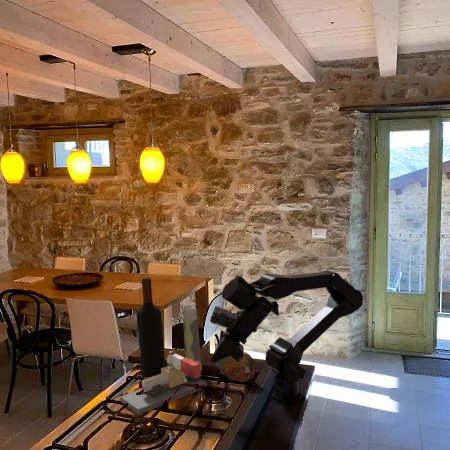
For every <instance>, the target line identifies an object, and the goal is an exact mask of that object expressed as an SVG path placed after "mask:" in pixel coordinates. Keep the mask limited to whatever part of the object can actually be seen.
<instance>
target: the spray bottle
mask: <svg viewBox="0 0 450 450" xmlns="http://www.w3.org/2000/svg"><path fill="white" fill-rule="evenodd" d="M182 317H183V318H182V322H183V323H182V324H183V339H184V358H186V357H187V358H189V359H191V360H193V361H199V362H200V363H201V364H202V359H201V358H202V357H201V347H200V335H199V334H200V333H199V322H198V313H197V308H196V307H195V306H193V305H188V306H186V307H184V309H183V313H182Z"/></svg>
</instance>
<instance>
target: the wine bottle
mask: <svg viewBox="0 0 450 450" xmlns="http://www.w3.org/2000/svg"><path fill="white" fill-rule="evenodd" d="M141 288H142V299H143V300H142V306H141V307H140V308H139V309H138V311H137V312H136V325H137V327H136V328H137V340H138V351H139V362H140V364H139V365H140V375H141V378H143V377H145V378H146V377H153V376H156V375H159V374H161V368H164V367H166V358H165V357H166V356H165V344H164V342H165V341H164V332H163V331H164V330H163V329H164V328H163V316H162V310H161V309H160V308H159V307H158V306H156V305H155V304H154V301H153V290H152V289H153V288H152V278H151V277H143V278H141ZM145 378H144V379H145Z"/></svg>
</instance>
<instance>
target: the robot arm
mask: <svg viewBox="0 0 450 450" xmlns="http://www.w3.org/2000/svg"><path fill="white" fill-rule="evenodd" d="M322 288H323V289H324V288H325V289H326V291H327V293H328V294H329V296H328V299H327V301H326V305H325V306H324V307H323V308H322V309H320V311H318V312H317V313H316V314H315V315H314V316H313V317H312V318H311V319H310V320H308V322H306V323H305V324H303V326H302V327H301V328H300V329H299V330H298V331H297V332H296V333H294V334H293V336H291V337H289V338H287V339H284V338H282V337H278V338H276V340H275V341H274V342H273V343H272V344H270V345H268V349H267V350H266V351H265V362H266V365H267V366H268V367H269V368H270V370H271V371H272V372H274V373H275V374H276V375H275V376H274V378H275V381H274V393H271V398H274V399H276V400H278V401H280V402H282V403H285V404H287V405H291V404H293V403H295V402H298V401H299V400H301V399H303V398H305V397H306V394H305V393H303V392H301V380H303V379H304V378H305V374H306V370H305V369H304V368H303V367H302V366H301V365H300V364H301V360H302V358H303V354H304V352H305V351H306V350H307V349H308V348H310V346H312V345H313V344H314V343H315V342H316V341H317V340H318V339H319V338H320V337H321V336H322V335H323V334H324V333H326V331H327V330H329V329H330V328H331V327H332V326H333V325H334V324H335V323H336V322H337V321H338V320H339V319H340V318H344V317H346V316H350V315H352V314H353V313H356V312H357V311H358V310H359V309H361V308H362V306H363V305H364V295H363V293H362V291H361V290H359V289H356V288H355V287H354V286H353V285H352V284H351V283H349V282H348V281H346V280H345V279H344V278H343V277H342V276H341V275H340V274H339V273H338V272H335V271H332V270H324V271H321V272H311V273H303V274H293V275H285V274H279V273H264V274H262V275H261V276H260V278H258V279H256V280H254V281H252V282H250V283H249V282H248V281H246V280H245V278H243V277H242V276H240V275H236V276H235V277H234V278H233V279H231V280H229V282H228V283H226V284H225V285H224V287H223V288H222V290H221V297H222V299H224V300H226V301H227V302H228V303H229V304H231V305H233V306H234V307H236V308H237V309H238V310H237V311H236V312H235V313H234V312H232V311H230V310H228V309H225V308H222V307H220V306H214V308H213V310H212V313H211V316H210V320H209V322H210V323H211V324H214V325H218V326H221V327H223V328H225V330H223V329H221V330H220V333H219V334H220V335H219V343H218V345H217V346H216V347H215V348H216V349H215V350H214V352H213V354H212V355H211V357H210V362H212V363H213V362H216V361H219V360H221V359H224V358H226V357H229V356H231V357H232V358H233V359H235V360H236V361H237V362H239V361H240V360H241V359H242V358H243V357H244V352H245V348H244V345H245V344H246V343H247V342H248V340H247V339H249V337H250V336H251V335H252V334H253V333H254V334H255V333H257V331H258V327H259V326H260V325H261V324H262V323H263V321H264V320H265V319H266V318H268V316H269V315H270V314H271V313H272V314H274V315H276V316H279V315H280V311H279V306H280V305H279V304H278V302H277V301H276V300H281V299H284V298H288V297H289V296H292V294H294V293H297V292H301V291H309V290H317V289H322ZM259 295H260V296H259ZM267 297H269V298H271V299H273V300H274V301H271V300H270V299H268V298H267Z"/></svg>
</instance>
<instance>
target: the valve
mask: <svg viewBox="0 0 450 450" xmlns="http://www.w3.org/2000/svg"><path fill="white" fill-rule="evenodd" d="M195 362H197V363H200V362H199V361H195ZM200 369H201V372H202V370H203V365H202V362H201V363H200ZM183 383H186V384H199V385H204V386H207V387H208V382H207V381H206V380H204V379H202V378H201V376H200V377H198V378H195V379H194V378H193V377H191V376H189V375H187V374H185V373H183V372H181V370H180V369H178V368H176V367H174V366H172V365H167V366H166V365H165V367H164V368H161V374H159V375H156V376H153V377H150V378H147V379H145V378H144V379H143V380H142V381H141V386H142V388H140V389H137V390H135V391H132V392H129V393H127V394H124V395H121V396H120V402H121V403H122V404H123V405H124V404H125V403H128V406H126V407H127V408H129V409H130V410H131V411H132V412H134V413H135V414H137V415H138V416H140V415H142V414H144V413H147V412H149V411H152V410H154V409H157V408H160V407H161V406H160V405H161V404H162V403H163V402H164V401H166V400H168V399H169V398H170V397H172V398H171V399H170V400H169V402H168V403H167V404H169V403H173V402H174V401H177V400H179V399H182V398H184V397H186V396H187V397H188V396H190V395H191V394H194V393H196V392H199V391H201V390H202V389H200V388H199V389H196V388H194V387H190V386H186V385H185V386H182V385H181V384H183ZM161 387H162V389H161ZM179 387H180V389H179V390H178V391H177V392H176V393H175V394H174V392H175V391H176V390H177V389H178V388H179ZM141 389H144V391H145V392H147V393H148V394H143V395H142V394H141V395H136V393H137V392H139V391H140V390H141ZM159 406H160V407H159Z"/></svg>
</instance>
